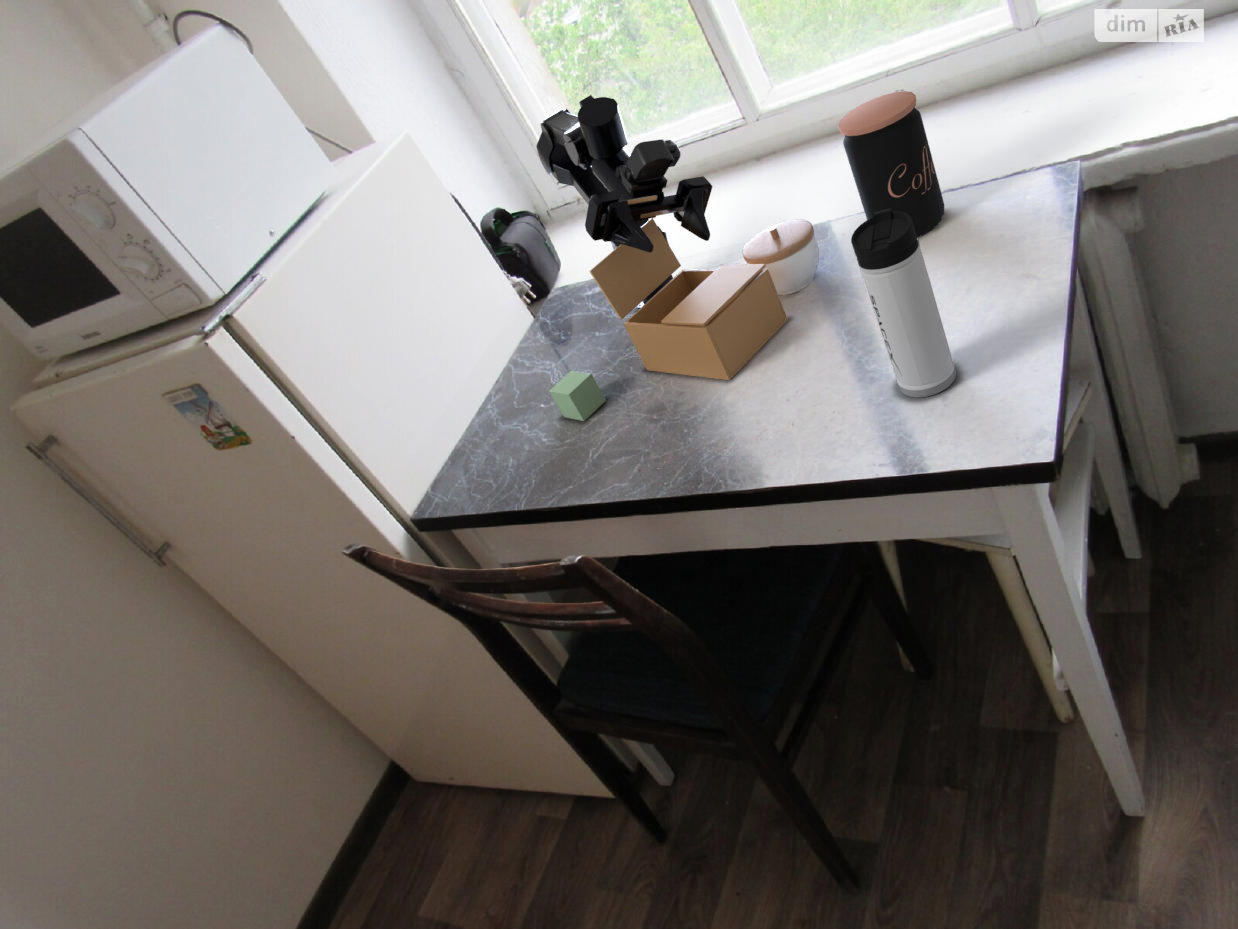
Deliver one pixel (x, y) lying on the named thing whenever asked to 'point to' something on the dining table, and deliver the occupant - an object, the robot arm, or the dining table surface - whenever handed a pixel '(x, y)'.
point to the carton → (708, 321)
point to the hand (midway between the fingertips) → (680, 243)
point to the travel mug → (904, 303)
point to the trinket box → (786, 254)
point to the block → (577, 395)
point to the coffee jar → (893, 159)
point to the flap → (635, 271)
